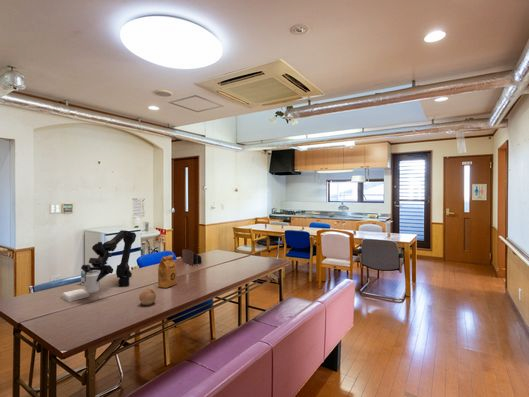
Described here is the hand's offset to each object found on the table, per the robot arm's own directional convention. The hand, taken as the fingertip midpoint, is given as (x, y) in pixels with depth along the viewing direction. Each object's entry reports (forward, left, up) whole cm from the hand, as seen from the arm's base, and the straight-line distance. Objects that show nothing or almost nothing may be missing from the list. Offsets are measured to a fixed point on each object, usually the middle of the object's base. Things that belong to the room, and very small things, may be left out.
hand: (91, 281), depth 183 cm
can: (-1, -1, -7) cm, 7 cm away
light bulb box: (+10, -46, -14) cm, 49 cm away
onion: (-33, +14, -13) cm, 38 cm away
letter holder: (-68, -88, -14) cm, 112 cm away
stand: (+12, -15, -13) cm, 23 cm away
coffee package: (-45, -20, -13) cm, 51 cm away
